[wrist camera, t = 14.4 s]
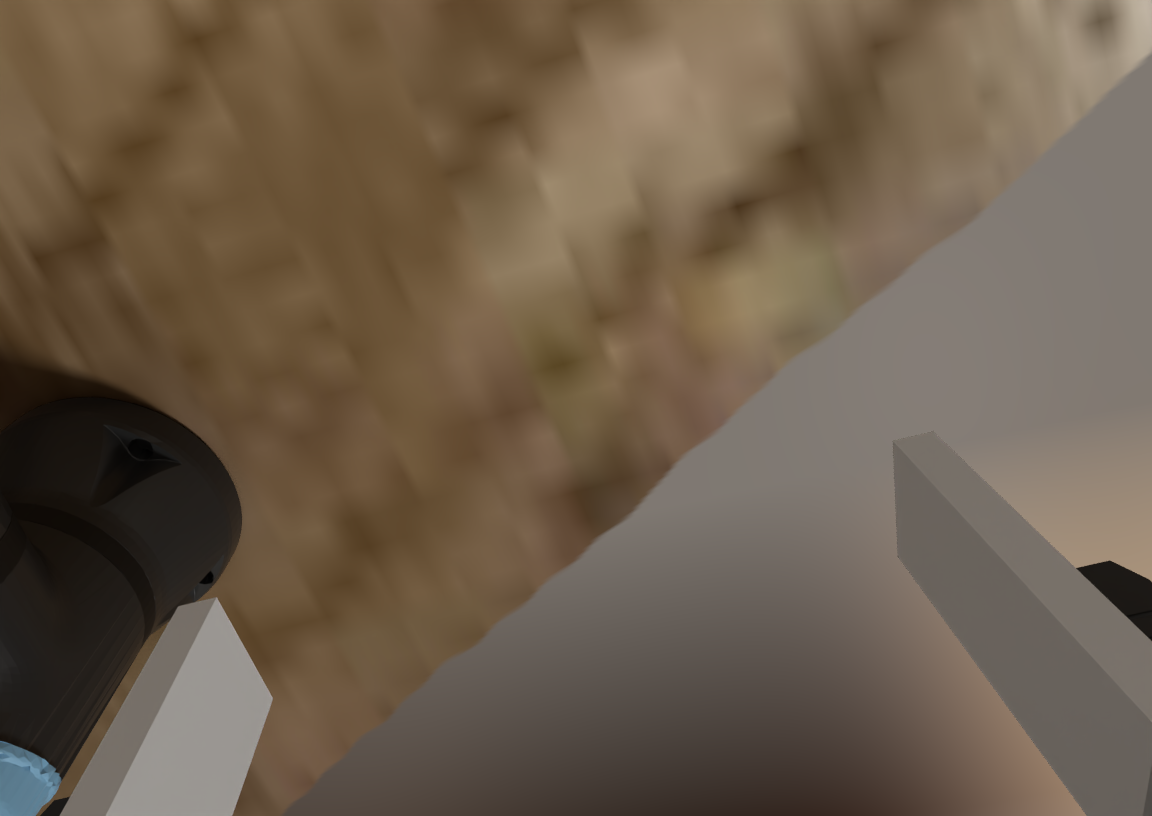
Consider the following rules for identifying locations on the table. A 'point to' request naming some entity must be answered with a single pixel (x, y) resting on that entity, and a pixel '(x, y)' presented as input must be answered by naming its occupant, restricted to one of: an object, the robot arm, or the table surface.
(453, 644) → the table surface
